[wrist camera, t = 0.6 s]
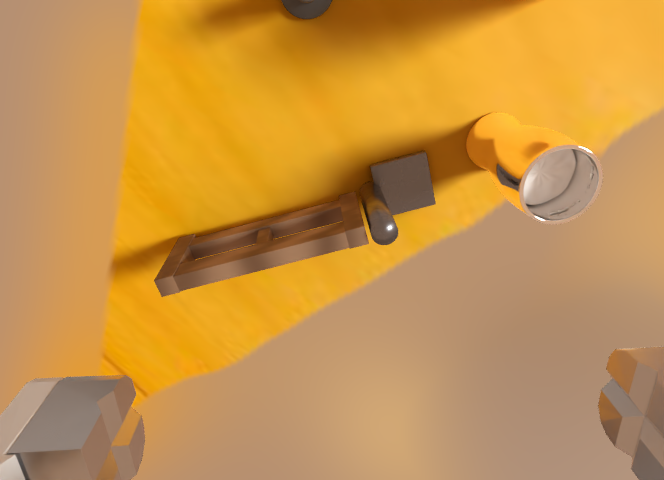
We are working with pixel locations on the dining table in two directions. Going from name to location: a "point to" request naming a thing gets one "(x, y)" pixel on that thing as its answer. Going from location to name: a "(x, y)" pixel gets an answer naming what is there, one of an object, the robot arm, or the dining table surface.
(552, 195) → the beer glass
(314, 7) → the post
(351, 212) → the gate
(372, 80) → the dining table surface
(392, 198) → the hinge post
